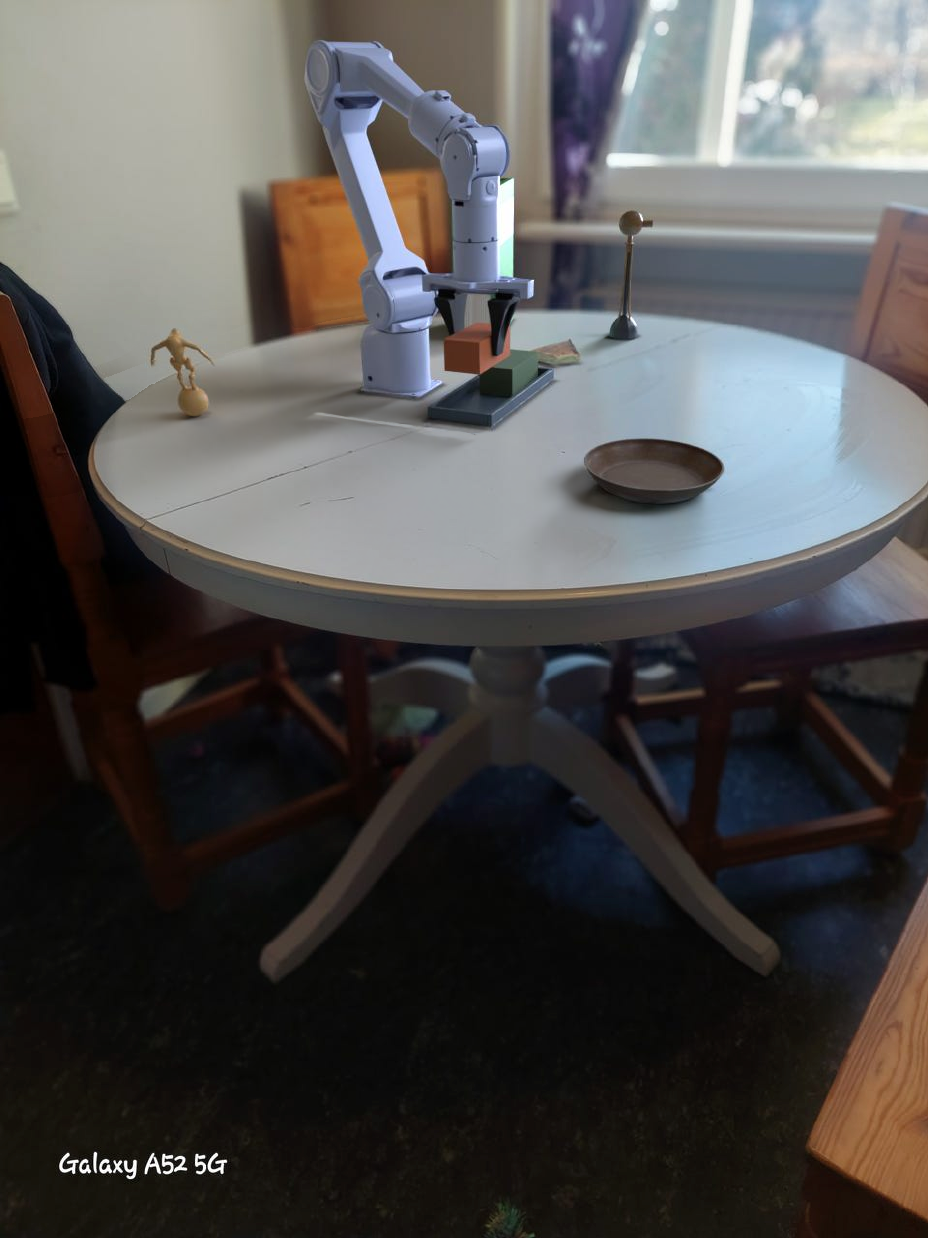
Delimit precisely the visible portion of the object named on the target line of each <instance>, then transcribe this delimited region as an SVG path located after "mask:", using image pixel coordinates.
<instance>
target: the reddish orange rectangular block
mask: <svg viewBox="0 0 928 1238" xmlns="http://www.w3.org/2000/svg"><path fill="white" fill-rule="evenodd" d="M510 349H511V324H510V325H509V328H508V331H507V335H506V338H505V343H504V348H503V353H502V354H500V355H498V356H492V347H491V323H479V322H476V323H474V324H472V325H470V326H468V327H466V328H464V329H462V330H460V331H459V332H457V333H455V334H453V335H451V336H449V335H448V336H447V337H445V338H443V364H444V367H443V369H444V372H450V373H451V372H452V373H460V374H471V375H480V374H482V373H483V372H485V371H486V370H488V369H489V368H491V367H493V366H494V365H496V364H497V363H499V362H501V361H502V360H504V359H505V358H507V357H508V356H510Z"/></svg>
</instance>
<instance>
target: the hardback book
mask: <svg viewBox="0 0 928 1238" xmlns="http://www.w3.org/2000/svg"><path fill="white" fill-rule="evenodd" d="M514 189H515V177H501V178H500V275H501V276H507V277H514V212H515V211H514V209H515V207H514V205H515V203H514V200H515V197H514V196H515V194H514V192H515V190H514ZM450 228H451V229H450V231H451V232H450V233H451V235H450V236H451V267H452V269H451V271H452V272H451V273H452V274H454V261H453V220H452V199H450ZM484 290H488V289H484ZM493 298H495V295H482V294H467V300H466V308H465V320H464V326H465V328H466V327H468V326H470V325H472V324H474V323H476V322H479V323H491V321H490V314H489V309H488V305H487V301H488V300H490V299H493ZM513 320H514V316H513V317H512V320H511V322H510V324H511V323H512V322H513Z"/></svg>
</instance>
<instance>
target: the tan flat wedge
mask: <svg viewBox="0 0 928 1238" xmlns="http://www.w3.org/2000/svg"><path fill="white" fill-rule="evenodd" d="M530 351H534V352H538V362H541V363H544V364H549V365H552V366H555V365H558V364H567V363H578V362H579V360H580V359H581V356H580V354H579V352H578V349H577V347H576V345H575V344H574V343H573V342H572V339H571V338H569V339H568V340H563V341H559V342H556V343H555V342H554V343H552V344H548V345H544V346H540V347H538V348H535V349H532V350H530Z"/></svg>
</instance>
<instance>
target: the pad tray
mask: <svg viewBox="0 0 928 1238" xmlns="http://www.w3.org/2000/svg"><path fill="white" fill-rule="evenodd" d="M554 375H555V368H551V367H542V366H538V378H536V379H535V380H534V381H532V382H531V383H530V384H528V385H527V386H526V387H524V388H523V389H521V390H520V391H519V392H517V393H516V394H515V395H513V396H512V397H511V398H509V397H500V396H492V395H483V394H480V375H478V374H476V375H475V376H473V377H472V378H470V379H469V380H467V381H466V382H464V383H463V384H461V385H459V386H458V387H456V388H454V389H453V390H452V391H451V392H449V393H447V394H446V395H444V396H442V397H441V398H439V399H437V400H436V401H435V402H433V403H431V404H430V405H428V406H426V407H427V408H426V409H427V419H428V420H437V421H445V422H450V423H459V424H466V425H474V426H482V427H489V428H492V427H494V426H495V425H496V424H497V423H499V422H500V421H502V420H503V419H504V418H505V417H507V416H508V415H509V414H511V413H512V412H513V411H514V410H516V409H517V408H518V407H519V406H521V405H522V404H523V403H525V402H526V401H527V400H529V399H530V398H531V397H532V396H534V395H535V394H536V393H537V392H539V391H541V390H542V389H543V388H544V387H545V386H547V385H548V384H549V383H551V382H552V381H553V380H554V377H555V376H554Z"/></svg>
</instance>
